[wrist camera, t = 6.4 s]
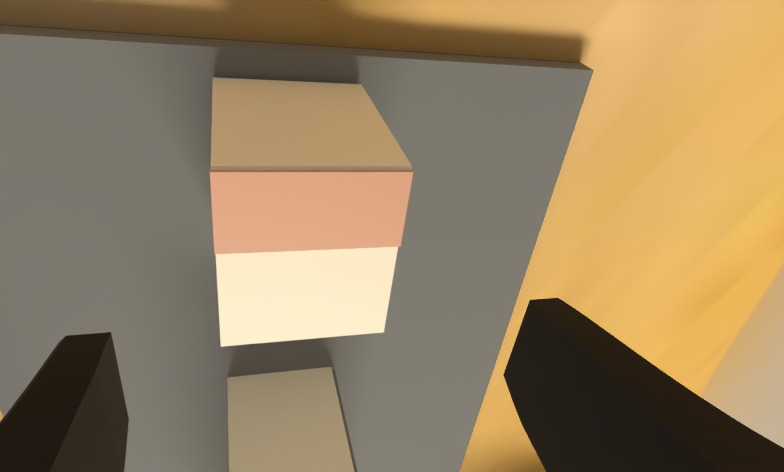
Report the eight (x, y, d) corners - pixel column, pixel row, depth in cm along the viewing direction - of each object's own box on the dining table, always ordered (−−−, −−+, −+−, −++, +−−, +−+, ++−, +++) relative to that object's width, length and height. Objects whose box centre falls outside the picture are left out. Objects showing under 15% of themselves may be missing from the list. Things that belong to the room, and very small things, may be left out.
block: (219, 229, 18) (219, 349, 13) (211, 77, 15) (209, 167, 11) (347, 225, 19) (385, 334, 15) (362, 84, 16) (413, 168, 12)
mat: (71, 560, 27) (67, 577, 27) (-134, 16, 13) (-152, 24, 12) (443, 493, 33) (447, 505, 32) (580, 63, 19) (593, 70, 18)
